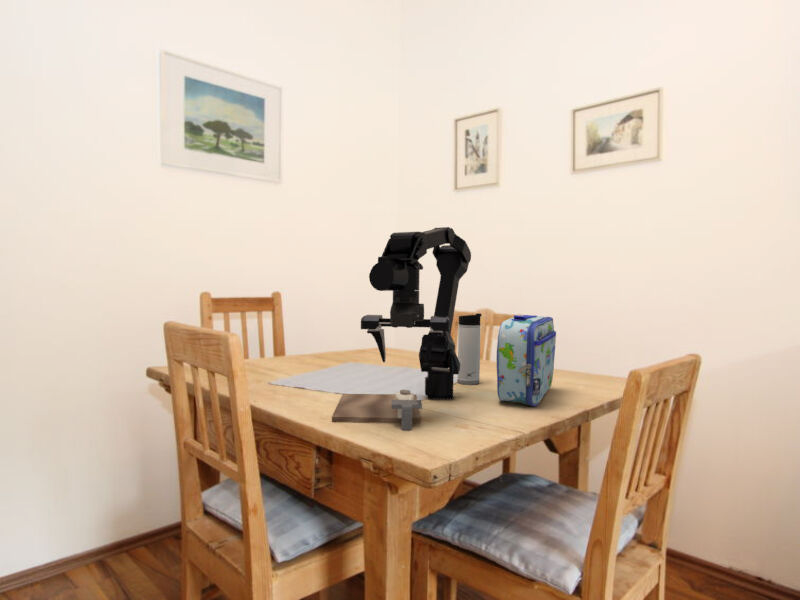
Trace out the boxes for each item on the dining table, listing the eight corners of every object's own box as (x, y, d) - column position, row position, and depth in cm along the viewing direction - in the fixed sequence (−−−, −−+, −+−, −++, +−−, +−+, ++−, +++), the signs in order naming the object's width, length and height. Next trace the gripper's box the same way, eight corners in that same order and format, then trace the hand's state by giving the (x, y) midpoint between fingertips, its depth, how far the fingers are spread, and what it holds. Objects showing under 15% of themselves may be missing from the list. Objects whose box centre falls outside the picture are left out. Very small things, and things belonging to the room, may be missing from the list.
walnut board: (416, 398, 120) (416, 382, 120) (420, 422, 99) (421, 403, 99) (342, 397, 120) (342, 382, 120) (331, 421, 99) (331, 402, 99)
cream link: (396, 400, 113) (396, 391, 113) (413, 400, 113) (413, 391, 113) (394, 417, 98) (394, 408, 98) (414, 418, 98) (415, 408, 98)
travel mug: (473, 386, 136) (475, 314, 135) (453, 383, 140) (454, 312, 139) (484, 382, 141) (485, 313, 140) (464, 379, 145) (465, 312, 144)
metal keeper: (420, 421, 100) (420, 400, 100) (422, 430, 94) (422, 407, 94) (391, 421, 100) (391, 399, 100) (391, 429, 94) (391, 407, 94)
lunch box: (537, 411, 110) (539, 318, 109) (490, 405, 115) (492, 315, 114) (557, 390, 133) (559, 312, 132) (518, 385, 138) (519, 311, 137)
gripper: (355, 290, 99) (355, 367, 99) (449, 291, 97) (447, 370, 97) (365, 289, 110) (365, 359, 110) (449, 290, 108) (448, 361, 108)
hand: (405, 362), depth 106 cm, fingers open, 9 cm apart
